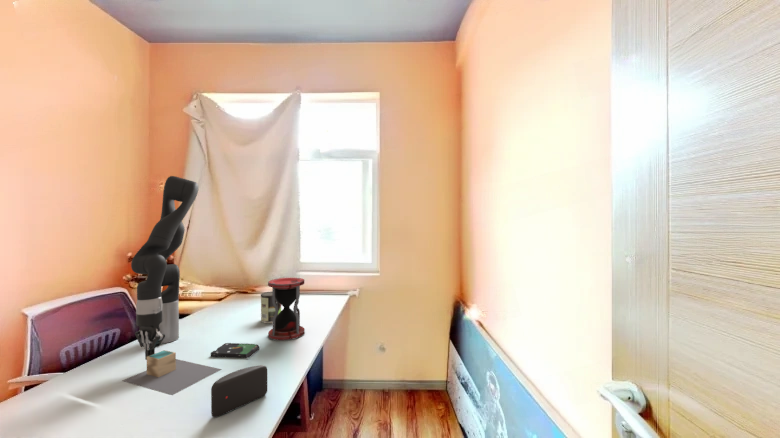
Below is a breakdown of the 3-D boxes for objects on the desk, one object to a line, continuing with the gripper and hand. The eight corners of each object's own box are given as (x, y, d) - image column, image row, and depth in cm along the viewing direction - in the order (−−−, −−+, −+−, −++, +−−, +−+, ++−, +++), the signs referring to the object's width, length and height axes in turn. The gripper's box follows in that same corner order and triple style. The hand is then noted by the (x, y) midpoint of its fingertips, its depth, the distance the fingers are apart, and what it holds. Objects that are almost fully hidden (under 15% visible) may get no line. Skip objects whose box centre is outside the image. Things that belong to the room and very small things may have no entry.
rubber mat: (121, 382, 109) (121, 380, 109) (174, 360, 126) (174, 358, 126) (172, 396, 101) (172, 395, 101) (221, 370, 117) (221, 369, 117)
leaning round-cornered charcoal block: (260, 390, 105) (260, 360, 105) (268, 395, 102) (268, 365, 102) (206, 414, 92) (205, 380, 92) (213, 420, 89) (212, 385, 89)
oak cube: (146, 374, 114) (146, 356, 114) (164, 366, 119) (164, 349, 119) (158, 377, 112) (158, 359, 112) (175, 369, 117) (175, 352, 117)
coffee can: (284, 317, 179) (284, 291, 179) (277, 323, 169) (277, 295, 169) (265, 317, 179) (265, 291, 179) (257, 323, 169) (257, 295, 169)
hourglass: (284, 343, 143) (284, 285, 142) (260, 336, 151) (260, 281, 151) (312, 332, 156) (311, 279, 156) (288, 326, 165) (288, 276, 164)
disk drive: (210, 360, 128) (247, 361, 127) (209, 353, 128) (247, 353, 127) (225, 349, 138) (259, 349, 137) (225, 342, 138) (259, 343, 137)
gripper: (125, 311, 116) (126, 360, 116) (151, 315, 111) (151, 366, 111) (148, 306, 123) (148, 352, 123) (172, 309, 118) (173, 358, 118)
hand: (150, 359), depth 117 cm, fingers closed
